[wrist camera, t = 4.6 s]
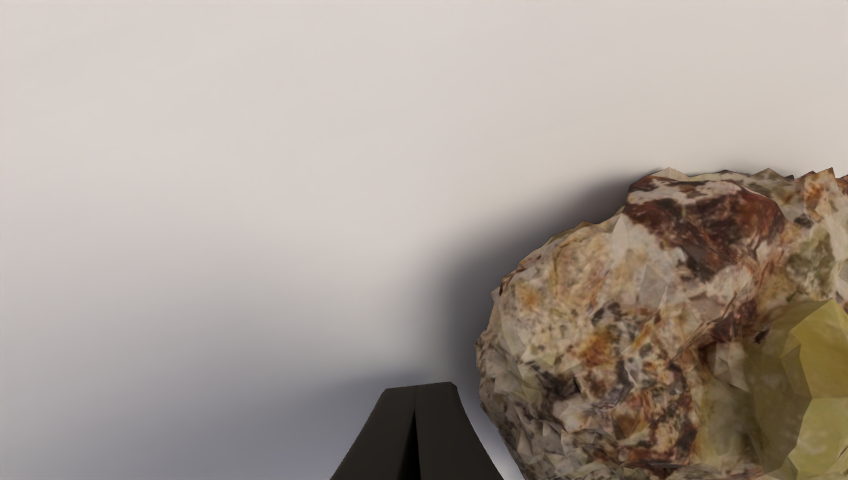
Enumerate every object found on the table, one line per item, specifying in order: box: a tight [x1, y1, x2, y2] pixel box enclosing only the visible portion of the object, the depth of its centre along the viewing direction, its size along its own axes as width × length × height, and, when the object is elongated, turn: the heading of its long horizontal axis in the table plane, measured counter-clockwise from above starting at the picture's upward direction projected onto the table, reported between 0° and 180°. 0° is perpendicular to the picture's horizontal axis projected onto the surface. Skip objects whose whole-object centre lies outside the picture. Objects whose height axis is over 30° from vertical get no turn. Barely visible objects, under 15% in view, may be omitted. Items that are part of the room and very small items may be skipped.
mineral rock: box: [474, 167, 848, 480], centre depth 8 cm, size 11×4×8 cm
